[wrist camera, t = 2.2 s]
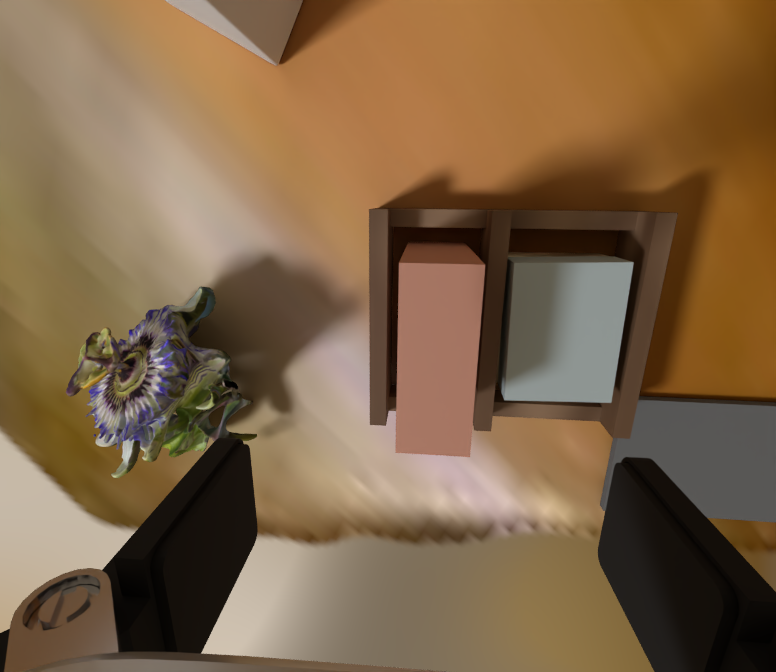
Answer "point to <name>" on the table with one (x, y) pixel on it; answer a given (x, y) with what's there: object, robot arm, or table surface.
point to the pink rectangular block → (437, 347)
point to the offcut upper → (562, 327)
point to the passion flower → (158, 385)
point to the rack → (635, 243)
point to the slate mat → (708, 453)
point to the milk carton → (247, 22)
